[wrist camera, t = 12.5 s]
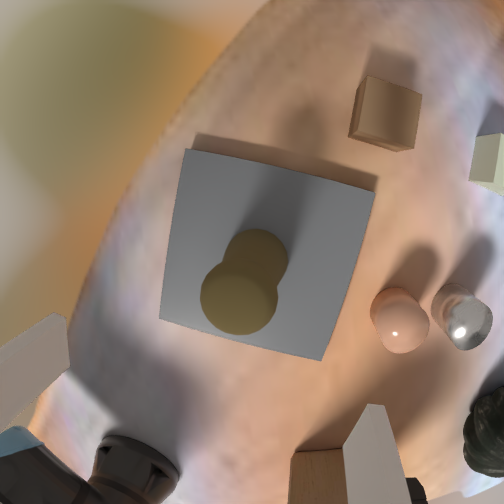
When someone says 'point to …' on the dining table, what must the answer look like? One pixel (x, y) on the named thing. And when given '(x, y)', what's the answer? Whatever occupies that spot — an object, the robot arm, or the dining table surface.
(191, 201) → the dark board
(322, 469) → the wooden block
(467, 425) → the squash
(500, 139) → the sage block
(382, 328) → the peach rounded capsule
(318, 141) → the dining table surface
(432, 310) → the metal tin
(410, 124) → the walnut block
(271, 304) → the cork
